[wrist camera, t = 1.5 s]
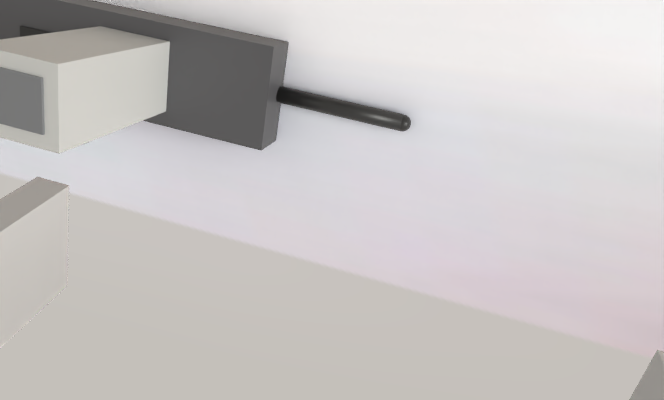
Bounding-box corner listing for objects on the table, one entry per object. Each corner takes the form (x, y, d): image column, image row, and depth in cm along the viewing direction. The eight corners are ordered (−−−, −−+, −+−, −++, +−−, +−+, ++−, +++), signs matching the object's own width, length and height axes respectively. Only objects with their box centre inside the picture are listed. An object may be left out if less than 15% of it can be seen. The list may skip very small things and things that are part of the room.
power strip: (-28, 64, 45) (-64, 71, 42) (-34, -27, 43) (-73, -27, 40) (401, 171, 39) (391, 187, 36) (423, 70, 36) (414, 79, 33)
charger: (118, 89, 42) (-25, 131, 31) (119, 23, 40) (-32, 43, 29) (181, 105, 41) (57, 154, 30) (185, 38, 39) (55, 64, 28)
